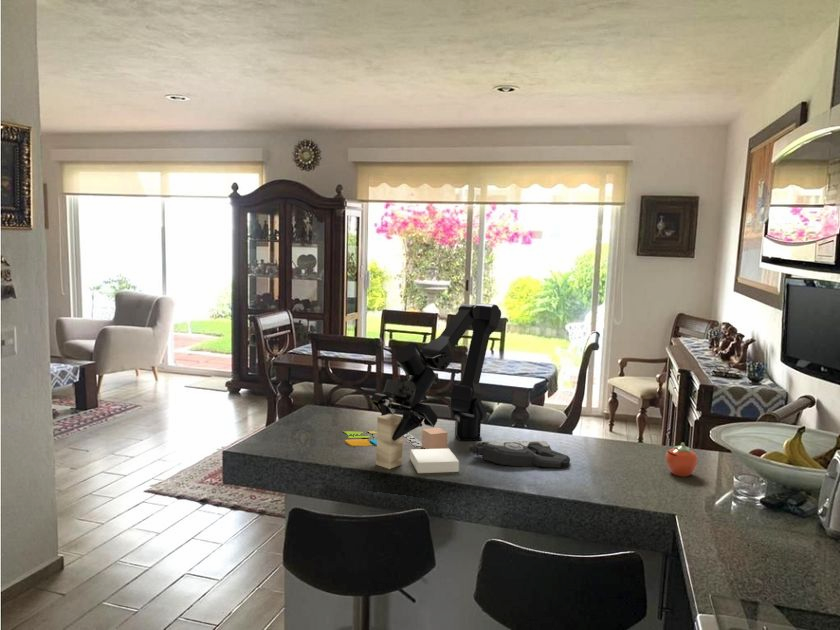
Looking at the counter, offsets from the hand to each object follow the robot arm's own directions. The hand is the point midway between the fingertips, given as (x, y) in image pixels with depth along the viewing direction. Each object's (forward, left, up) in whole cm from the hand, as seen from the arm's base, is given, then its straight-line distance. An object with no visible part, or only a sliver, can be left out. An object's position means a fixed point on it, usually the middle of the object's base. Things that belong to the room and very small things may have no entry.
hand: (385, 437), depth 147 cm
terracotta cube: (-15, -12, -7) cm, 21 cm away
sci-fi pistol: (-35, 0, -8) cm, 36 cm away
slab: (-12, +1, -8) cm, 14 cm away
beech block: (-1, -1, -7) cm, 7 cm away
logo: (-1, -23, -8) cm, 25 cm away
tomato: (-72, +13, -7) cm, 74 cm away
